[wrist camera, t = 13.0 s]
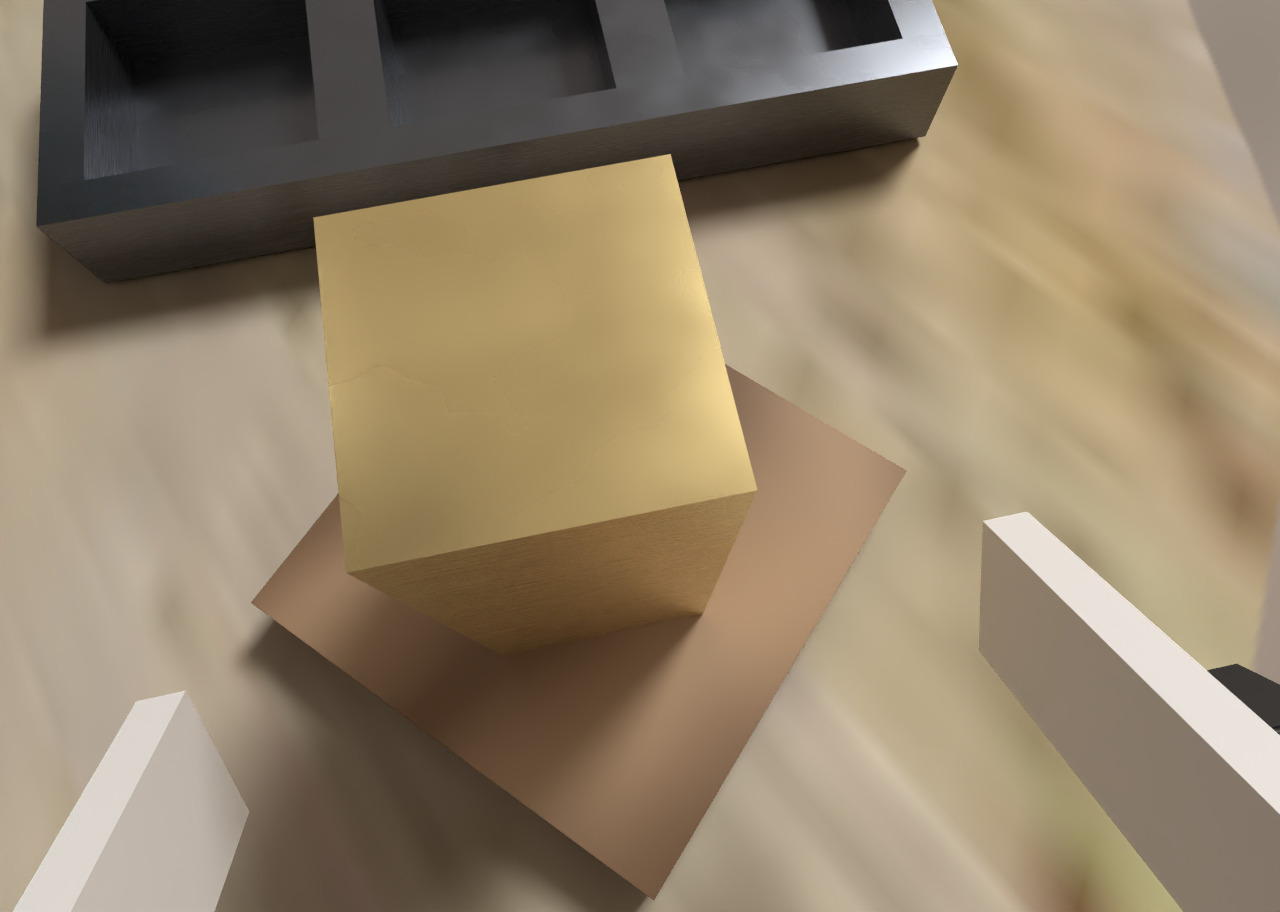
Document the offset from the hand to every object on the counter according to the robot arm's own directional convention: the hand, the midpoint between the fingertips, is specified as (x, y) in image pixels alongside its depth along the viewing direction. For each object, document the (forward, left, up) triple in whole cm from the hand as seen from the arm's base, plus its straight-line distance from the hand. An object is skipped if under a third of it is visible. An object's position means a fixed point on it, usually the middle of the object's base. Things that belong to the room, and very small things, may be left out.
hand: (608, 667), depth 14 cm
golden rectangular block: (-3, +3, -6) cm, 8 cm away
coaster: (-3, +3, -8) cm, 9 cm away
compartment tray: (-14, +14, -8) cm, 21 cm away
